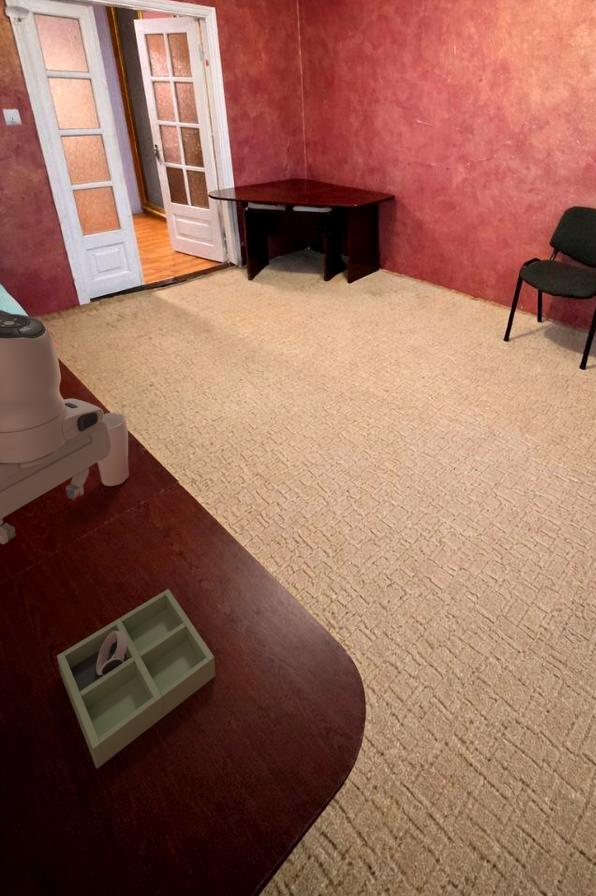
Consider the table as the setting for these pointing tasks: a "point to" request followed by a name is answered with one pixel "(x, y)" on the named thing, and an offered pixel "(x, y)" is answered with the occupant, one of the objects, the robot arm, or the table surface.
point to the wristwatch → (107, 666)
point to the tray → (135, 675)
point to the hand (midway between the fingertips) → (43, 516)
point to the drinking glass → (115, 451)
